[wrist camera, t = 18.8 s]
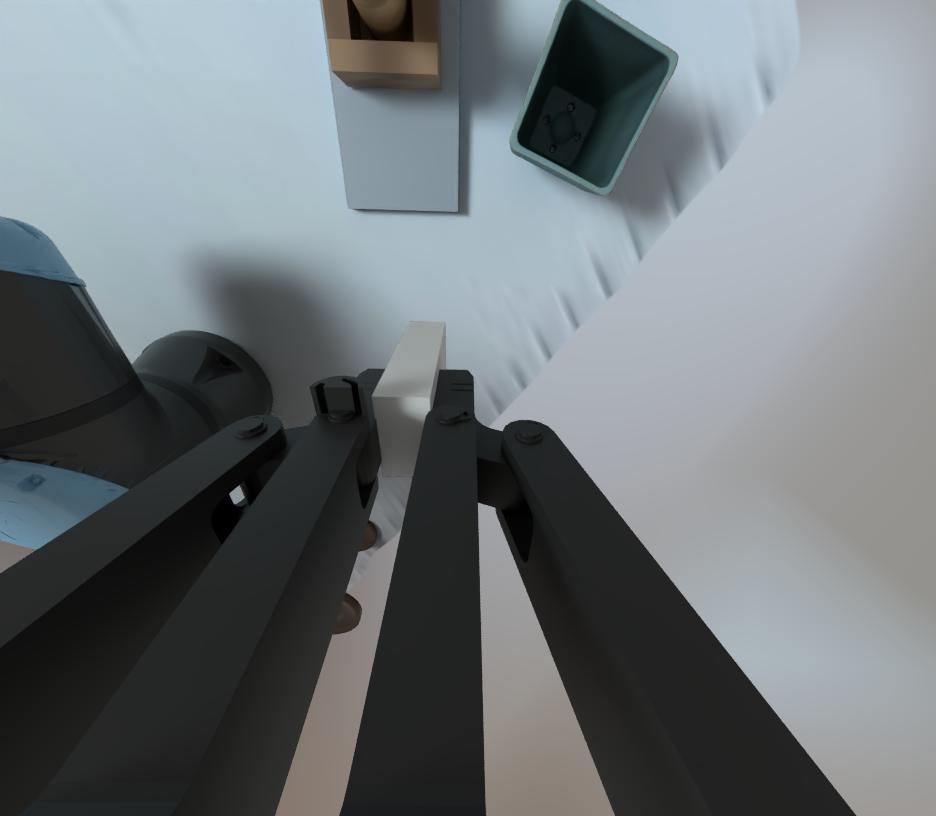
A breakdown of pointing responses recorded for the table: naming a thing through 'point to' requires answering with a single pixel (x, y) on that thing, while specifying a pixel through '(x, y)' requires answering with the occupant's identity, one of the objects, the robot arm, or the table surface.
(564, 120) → the flower pot
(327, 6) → the block
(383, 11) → the dowel
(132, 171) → the table surface
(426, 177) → the board
